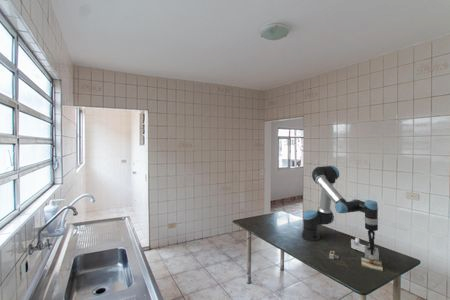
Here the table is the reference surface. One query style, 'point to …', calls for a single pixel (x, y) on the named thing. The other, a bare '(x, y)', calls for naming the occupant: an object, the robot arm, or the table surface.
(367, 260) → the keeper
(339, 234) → the table surface
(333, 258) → the beige box with knob
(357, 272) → the table surface
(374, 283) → the table surface
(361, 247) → the bracket
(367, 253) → the link
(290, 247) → the table surface
